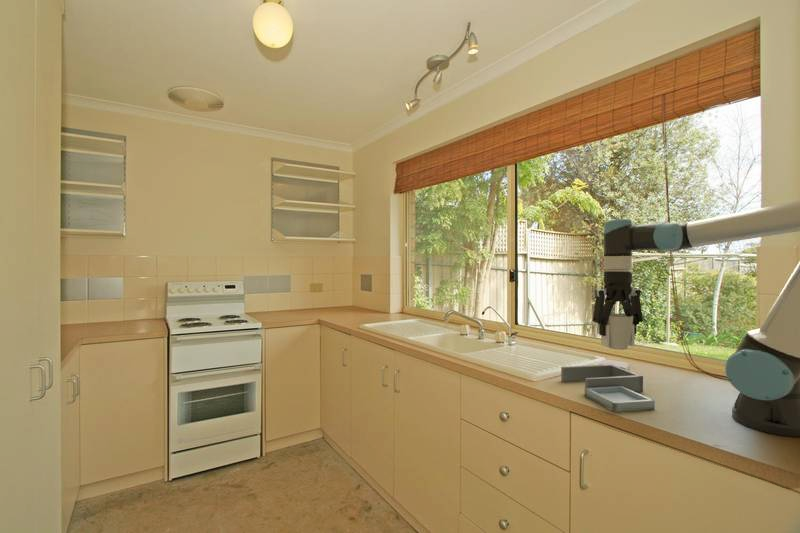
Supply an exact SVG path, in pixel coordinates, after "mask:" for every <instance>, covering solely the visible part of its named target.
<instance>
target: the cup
mask: <svg viewBox="0 0 800 533" xmlns="http://www.w3.org/2000/svg"><path fill="white" fill-rule="evenodd" d="M607 325H609V347H607V348H608V349H610V350H611V349H612V350H619V351H620V350H622V351H625V350H627V349H629V348H628V347H629V342H630V338H631V333H632V326H633V316H632V315H631V317H628V316H626V315H625V313H612V312H611V314H610V316H609V320H608V322H607Z"/></svg>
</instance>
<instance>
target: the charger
mask: <svg viewBox="0 0 800 533" xmlns="http://www.w3.org/2000/svg"><path fill="white" fill-rule="evenodd" d="M611 364H612V365H615V366H617V367H620V368H623V369H625V370H628V371H631V364H630V363H628V362H625V361H619V360H613V359H612V360H611V359H603V360H602V361H601V362H600V363H599V364H598V365H611Z"/></svg>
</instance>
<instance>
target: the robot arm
mask: <svg viewBox="0 0 800 533" xmlns="http://www.w3.org/2000/svg"><path fill="white" fill-rule="evenodd" d="M603 227H604V228H603V234H602V235H603V269H604V270H605V271H604V272H603V283H604V287H603V289H595V290H594V294H595V301H594V308H593V315H592V322H593V323H596V324H598V335H599V336H600V342H601V343H600V346H602V347H604V348H605V347H606V348H608V347H609V325H607V322H608V320H609V316H610V314H611V313H612V312H613V309H614V306H615V305H616V304H617V302H619V303H620V304H621V306H622V309H623V312H624V314H625V315H626V316H628V317H631V315H632V316H633V326H632V333H631V338H630V342H629V345H628V347H635V336H636V334H637V325H640V323H642V322H643V320H644V319H643V312H642V311H643V310H642V304H641V299H640V298H641V292H642V291H641V290H640V289H636V288H632V285H631V284H632V283H633V272H632V271H631V270H633V251H634V252H635V251H667V252H679V251H681V250H685V249H692V248H697V247H704V246H706V247H707V246H711V245H712V246H713V245H717V244H724V243H731V242H739V241H742V240H743V241H745V240H749V239H758V238H763V237H765V238H766V237H771V236H778V235H784V234H790V233H798V232H800V200H797V201H790V202H786V203H781V204H775V205H770V206H765V207H760V208H755V209H751V210H746V211H739V212H734V213H729V214H724V215H720V216H719V215H718V216H714V217H710V218H705V219H699V220H694V221H693V220H692V221H689V222H683V223H677V222H660V223H659V222H658V223H647V224H633V220H632V219H631V218H630V219H629V218H615V219H614V218H613V219H609V220H606V221H605V222H604V226H603ZM725 375H726V377H727V381H729V383H730V385H731V386H732V387H733V388H735V389H736V390H737V391H738V392H739V394H738V395H737V398H736V399H735V402H734V405H733V406H732V408H731V418H732V419H733V420H734V421H736V422H737V423H739V424H741V425H744V426H746V427H748V428H750V429H754V430H758V431H761V432H765V433H769V434H773V435H778V436H779V435H780V436H785V437H794V438H795V437H797V438H799V437H800V261H799V262H798V263H797V265H796V267H795V268H794V269H793V272H792V273H791V275H790V277H789V278H788V280H787V282H785V285H784V287H783V289H781V292H780V293H779V295H778V296H777V298H776V300H775V302H774V303H773V305H772V306H771V308H770V310H769V311H768V313H767V315H766V316H765V318H764V319H763V321H762V323H761V325H760V327H759V328H756V329H752V330H747V332H746V333H745V334H744V335H743V336H742V339H741V342H740V344H739V345H738V347H737V349H736V350H735V352H734V353H732V354H731V355H730V356H729V357H728V358H727V360H726V363H725Z"/></svg>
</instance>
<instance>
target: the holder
mask: <svg viewBox="0 0 800 533" xmlns="http://www.w3.org/2000/svg"><path fill="white" fill-rule="evenodd" d="M560 368H561V370H560V371H561V372H560V375H561V378H560V381H561V382H562V383H568V382H585V384H584V389H585V388H597V387H614V386H623V387H625V388H627V389H630V390H632V391H634V392H636V393H639V392H640V393H641V392H644V375H641V374H638V373H636V372H632V371H631V370H630V371H628V370H625V369H623V368H620V367H617V366H615V365H612V364H611V365H599V364H594V365H575V366H574V365H573V366H572V365H571V366H569V365H568V366H561V367H560Z"/></svg>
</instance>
